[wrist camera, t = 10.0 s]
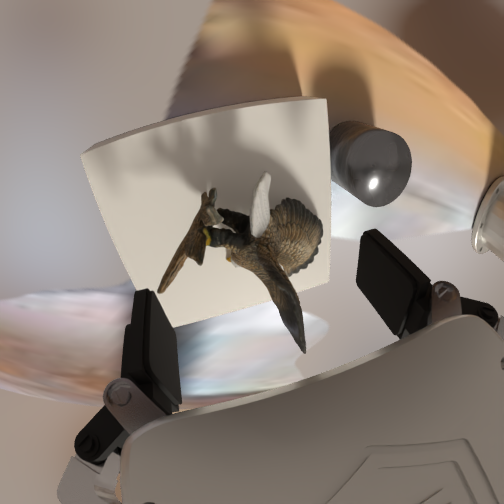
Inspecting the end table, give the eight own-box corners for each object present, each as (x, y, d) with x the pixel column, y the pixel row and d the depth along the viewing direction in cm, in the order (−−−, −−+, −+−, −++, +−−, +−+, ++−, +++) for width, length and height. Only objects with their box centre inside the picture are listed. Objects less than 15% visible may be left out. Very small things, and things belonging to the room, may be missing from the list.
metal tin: (376, 119, 17) (413, 130, 14) (375, 179, 20) (408, 199, 17) (318, 123, 16) (352, 134, 13) (322, 190, 19) (351, 214, 16)
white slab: (302, 96, 15) (326, 98, 13) (312, 259, 23) (328, 282, 20) (95, 143, 13) (80, 155, 11) (158, 302, 21) (159, 330, 18)
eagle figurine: (150, 283, 15) (275, 342, 18) (160, 302, 8) (348, 377, 11) (211, 171, 16) (319, 242, 19) (261, 119, 10) (398, 234, 13)
